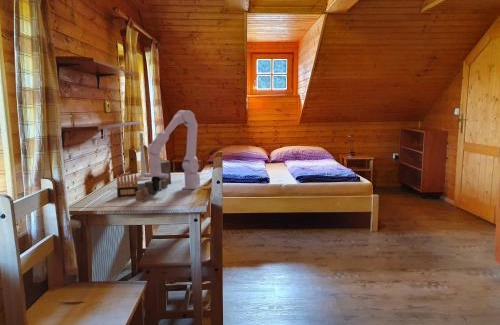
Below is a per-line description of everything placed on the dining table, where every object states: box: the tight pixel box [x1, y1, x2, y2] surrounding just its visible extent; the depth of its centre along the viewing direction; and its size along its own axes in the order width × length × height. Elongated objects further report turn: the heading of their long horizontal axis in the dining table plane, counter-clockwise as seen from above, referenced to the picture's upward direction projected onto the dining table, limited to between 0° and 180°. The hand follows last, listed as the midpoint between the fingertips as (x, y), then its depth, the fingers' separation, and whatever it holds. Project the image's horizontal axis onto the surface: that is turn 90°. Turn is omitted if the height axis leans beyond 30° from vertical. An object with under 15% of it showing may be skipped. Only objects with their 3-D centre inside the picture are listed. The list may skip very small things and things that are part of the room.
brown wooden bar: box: [135, 180, 168, 202], centre depth 205 cm, size 30×2×5 cm, turn 164°
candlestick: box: [136, 132, 152, 182], centre depth 245 cm, size 13×13×30 cm
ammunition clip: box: [116, 173, 139, 198], centre depth 200 cm, size 11×2×12 cm, turn 100°
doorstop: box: [141, 180, 158, 195], centre depth 208 cm, size 8×4×6 cm, turn 58°
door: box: [134, 181, 163, 191], centre depth 212 cm, size 16×1×4 cm, turn 114°
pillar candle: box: [160, 158, 172, 185], centre depth 229 cm, size 10×10×15 cm
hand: (156, 190), depth 206 cm, fingers closed, pressing on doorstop
